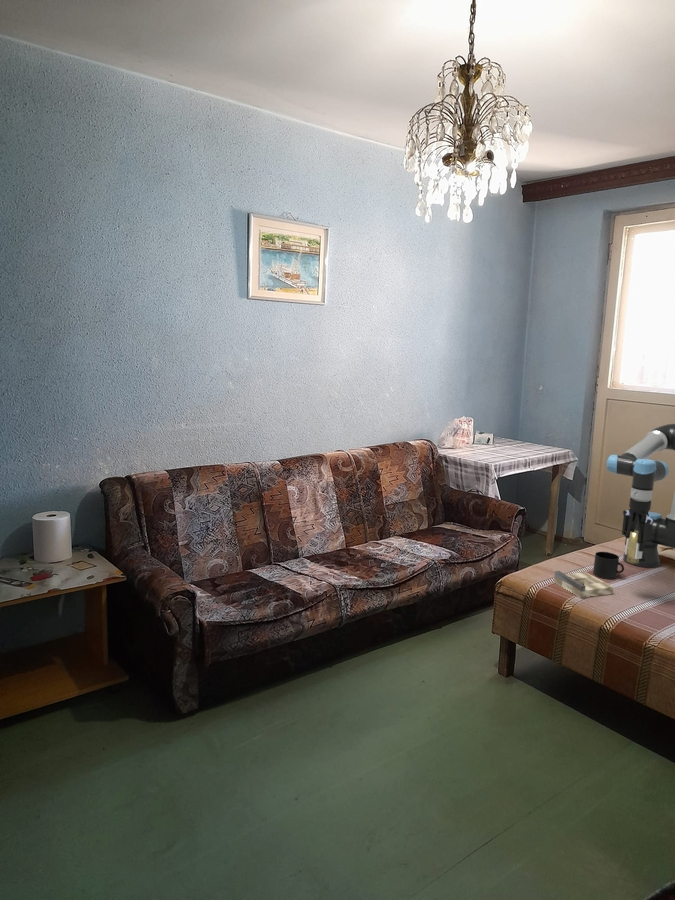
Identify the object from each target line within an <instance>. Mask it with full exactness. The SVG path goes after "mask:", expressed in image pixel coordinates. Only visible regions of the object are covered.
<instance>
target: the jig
mask: <svg viewBox="0 0 675 900" xmlns="http://www.w3.org/2000/svg"><path fill="white" fill-rule="evenodd" d="M554 582H555V583H556V584H555V583H554ZM553 583H554V584H555V585H557V584H558V585H557V586H559V587H560V586H561V588H562V587H563V588H562V589H564V590H565V589H566V591H567V590H568V591H567V592H569V591H570V592H571V594H572V593H573V594H572V595H574V594H575V595H576V596H575V595H574V596H575V597H577V596H578V597H577V598H579V599H585V597H586V598H591V597H590V596H594V597H599V596H598V595H601V596H607V595H613V592H614V586H613V585H610V584H609V583H607V582H605V581H603V580H601V578H599V577H598V578H597V576H595V575H592V574H590V573H589V572H587V571H585V572H576V573H567V574H566V573H563V572H562V571H560V570H555V571H554V577H553ZM583 584H584V585H583ZM570 592H569V593H570Z"/></svg>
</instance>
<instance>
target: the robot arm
mask: <svg viewBox="0 0 675 900" xmlns="http://www.w3.org/2000/svg"><path fill="white" fill-rule="evenodd" d="M663 450H670V451H675V423H668V424H664V425H661V426H658V427H655V428H653V429H652V430H650V431H648V432H647V433H646V434H645V436H644V438H643V439H641V440H640V441H639V442H637V443H636V444H635V445H633V446H632V447H630V448H629V449H628V450H626V451H624V452H623V453H622V454H620V455H619V454H611V455H610V456H608V458H607V460H606V469H607V471H608V472H609V473H611V474H612V473H613V474H616V475H622V476H629V477H632V483H631V489H630V499H629V504H628V507H629V509H628V510H627V509H626V510H623V511H622V514H623V519H622V521H623V522H622V529H621V534H622V535H623V536H624V537H625V542H624V544H625V549H624V553H623V555H622V556H623V558H622V560H623V561H624V562H626V563H627V564H630V565H633V566H636V567H641V568H657V567H659V566H660V562H661V559H660V557H659V551H658V546H659V545H660V546H664V547H668V548H671V549H675V491H674V492H673V499H672V503H671V510H670V513H669V514H667V515H665V518H663V514H662V513H659V512H654V511H652V512H651V511H650V510H651V506H652V500H653V491H654V484H655V482H658V481H661V480H663V479H665V478H667V476H668V475H669V472H670V471H669V469H670V468H669V466H668V464H667V463H665V461H662V460H653V459H649V458H651V457H652V456H653V455H655V454H656V453H657V452H661V451H663ZM630 531H638V536H639V542H637V545H636V553H635V559H639V563H630V562H627V561H626V559H627V552H628V544H629V537H630Z"/></svg>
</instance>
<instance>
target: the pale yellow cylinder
mask: <svg viewBox="0 0 675 900" xmlns="http://www.w3.org/2000/svg"><path fill="white" fill-rule="evenodd" d="M637 542H639V536H638V531H630V537H629V544H628V552H627V559H626V561H627V562H630V563H639V559H635V553H636V545H637ZM626 561H625V562H626ZM627 562H626V563H627ZM630 563H629V564H630Z"/></svg>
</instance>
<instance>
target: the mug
mask: <svg viewBox="0 0 675 900" xmlns="http://www.w3.org/2000/svg"><path fill="white" fill-rule="evenodd" d="M619 561H620V557H619V555H617V554H615V553H612V552H609V551H596V552H595V555H594V561H593V571H592V573H593V576H594V577H596V578H597V577H598V578H599V579H603V580H604V579H605V580H615V579H616V578H617V576H618V574H621V573H624V571H625V566H624V564H623V563H621V562H619ZM619 566H620V567H621V570H618V569H619Z"/></svg>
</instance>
